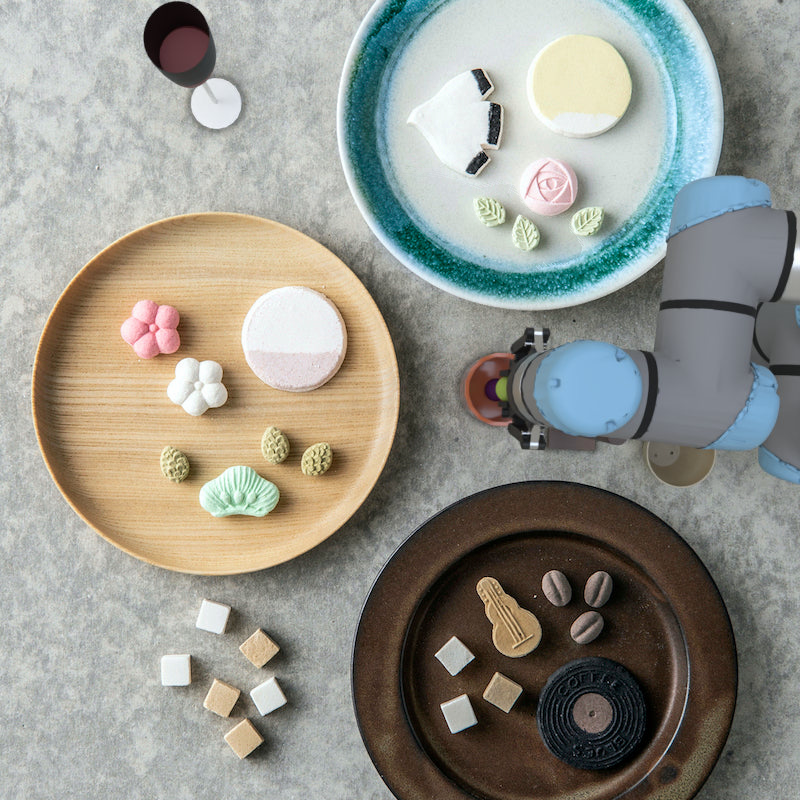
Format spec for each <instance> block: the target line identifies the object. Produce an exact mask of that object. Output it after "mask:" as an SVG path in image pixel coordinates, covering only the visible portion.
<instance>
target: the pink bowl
mask: <svg viewBox="0 0 800 800" xmlns="http://www.w3.org/2000/svg"><path fill="white" fill-rule="evenodd" d="M514 355H515V354H511V352H494V353H490V354H488V355H485V356H483V357H482V356H481V357H479V358H477V359H474V361H473V362H471V363H470V365H468V366H467V368H466V369H465V370H464V372H463V374H462V376H461V379H460V381H459V388H458V389H459V398H460V401H461V403H462V407H463V408H464V409H465V410H466V412H467V414H469V415H470V416H471V417H472V418H473V419H475V420H477V421H479V422H481V423H483V424H487V425H490V426H491V427H508V424H509V423H512V418H502V415H501V413H502V408H503V407H498V401H492V400H490V399H488V398H487V396H486V395H485V390H484V389H485V385H486V383H487V382H488V381H489V380H491V379H494V378H498V379H501V378H503V377H501V376H499V373H500V371H501V370H506V369H509V362H510V360H514ZM501 401H502V400H501Z"/></svg>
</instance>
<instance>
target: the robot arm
mask: <svg viewBox="0 0 800 800" xmlns="http://www.w3.org/2000/svg"><path fill="white" fill-rule="evenodd" d="M771 198H772V191H771V188H770V187H769V185H768V184H767V183H765V182H763V181H762V180H760V179H758V178H757V179H756V178H746V177H745V176H743V175H729V174H728V175H726V174H725V175H711V176H705V177H701V178H698V179H694V180H692V181H689V182H687V183H686V184H685V185H684V186H682V187H681V188H680V189H679V190H678V192H677V193H676V194H675V196H674V200H673V206H672V211H671V216H670V217H671V218H670V223H669V229H668V234H667V235H666V236H665V243H666V251H665V259H664V268H663V276H662V284H661V285H662V286H661V291H660V292H661V294H660V301H659V308H658V311H657V319H656V327H655V336H654V343H653V345H654V346H653V351H648V350H642V349H630V348H622V347H619V346H618V345H615V344H613V343H610V342H607V341H603V340H593V339H575V340H573V341H572V342H565V343H564V344H561V345H558V346H557V347H553V348H548V342H549V339H550V337H551V329H550V328H549V327H536V326H535V327H534V326H526V327H525V330H524V332H523V334H522V335H521V336H520V337H519V338H518V339H517V340H515V341H514V342H512V344H511V346H510V348H509V352H510V353H511V354H513V355H514V360H510V362H509V369H506V370H501V371H500V373H499V376H501V377H505V376H508V379H507V384H506V393H507V398H508V401H509V402H507V401H498V407H503V408H502V413H501V415H502V418H512V423H509V424H508V426H506V427H507V429H506V430H507V433H508V434H509V435H511V436H512V437H513V438H514V439H515V440H517V441H518V442H519V446H520V448H521V450H525V451H526V450H527V451H545V450H546V447H547V442H546V439H545V431H544V429H545V428H547V429H548V428H553V429H559V430H561V431H563V432H564V433H567V434H570V435H574V436H578V435H580V436H586V437H596V436H602V437H610V438H618V439H627V440H634V441H643V442H644V441H649V442H657V443H664V444H672V445H679V446H687V447H694V448H696V449H706V450H707V449H716V451H729V452H730V451H732V452H747V451H751V450H754V449H756V448H758V451H757V463H758V465H759V467H760V468H761V469H762V470H763V472H765V473H766V474H768V475H770V476H772V477H774V478H776V479H779V480H782V481H785V482H789V483H792V484H796V485H800V209H791V210H787V209H786V210H785V209H777V208H772V206H773V201H772V200H771Z"/></svg>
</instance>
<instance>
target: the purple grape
mask: <svg viewBox="0 0 800 800" xmlns="http://www.w3.org/2000/svg"><path fill="white" fill-rule="evenodd" d="M499 380H500V379H498V378H494V379H491V380H489V381H488V382H487V383H486V385H485V389H484V390H485V395H486V396H487V398H488V399H490V400H492V401H501V399H500V398H499V397H498V396H497V394H496V385H497V382H498V381H499Z"/></svg>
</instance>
